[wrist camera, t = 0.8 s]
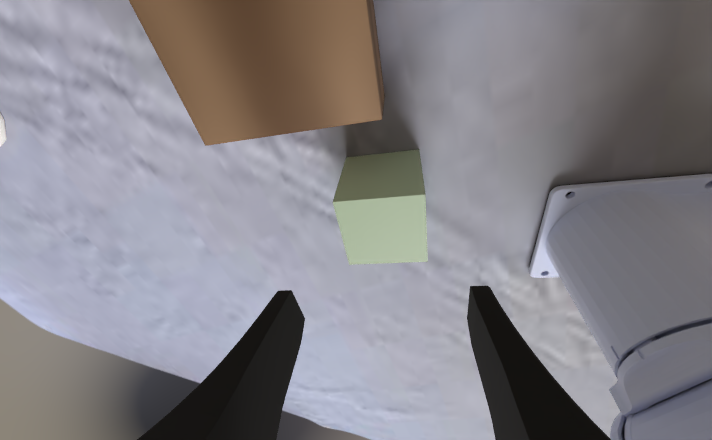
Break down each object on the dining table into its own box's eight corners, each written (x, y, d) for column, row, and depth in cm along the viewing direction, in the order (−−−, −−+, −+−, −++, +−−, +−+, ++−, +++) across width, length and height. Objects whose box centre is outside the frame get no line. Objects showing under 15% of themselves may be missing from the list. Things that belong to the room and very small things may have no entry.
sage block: (419, 148, 18) (425, 194, 14) (421, 209, 20) (427, 261, 16) (346, 157, 18) (332, 202, 14) (358, 213, 21) (349, 264, 17)
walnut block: (354, -160, 11) (337, -222, 8) (384, 94, 16) (382, 119, 13) (150, -90, 12) (68, -115, 9) (238, 118, 18) (205, 145, 15)
